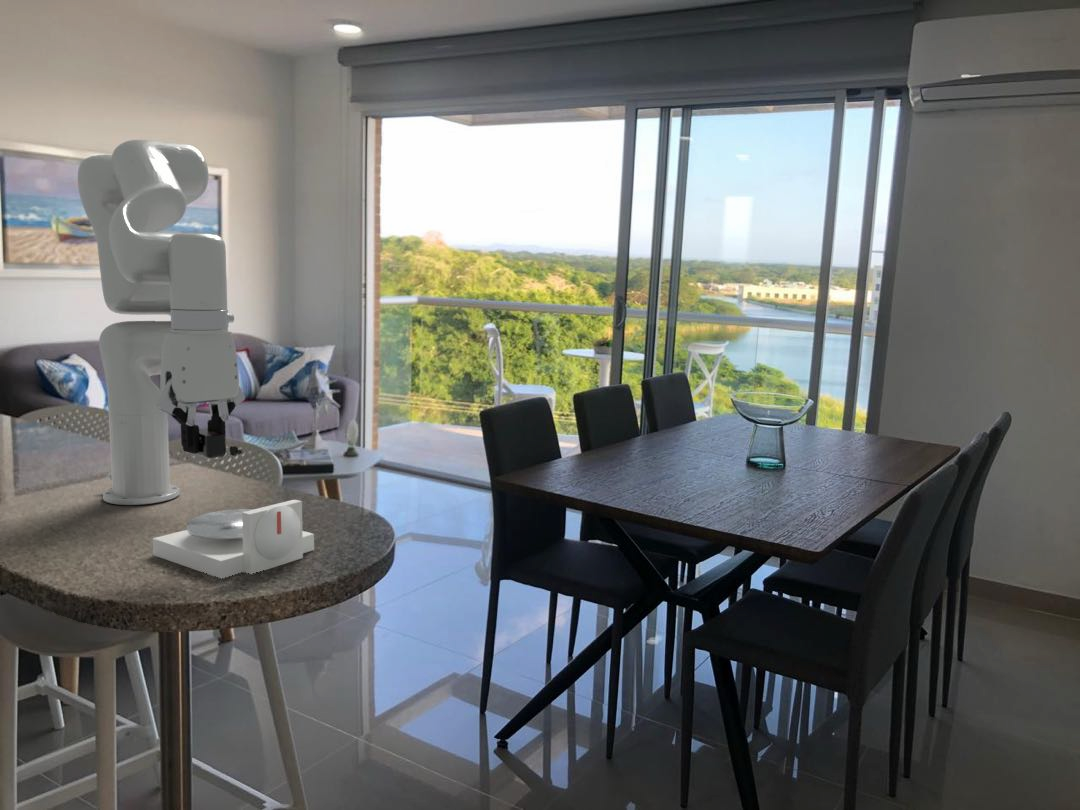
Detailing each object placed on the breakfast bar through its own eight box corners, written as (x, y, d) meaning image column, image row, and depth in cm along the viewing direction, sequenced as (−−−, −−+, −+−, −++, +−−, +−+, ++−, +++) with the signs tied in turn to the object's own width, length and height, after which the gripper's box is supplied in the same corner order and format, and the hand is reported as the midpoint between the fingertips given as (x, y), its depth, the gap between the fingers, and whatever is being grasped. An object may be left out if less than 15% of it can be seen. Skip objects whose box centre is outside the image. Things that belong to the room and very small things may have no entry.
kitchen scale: (153, 555, 127) (150, 496, 126) (246, 530, 140) (244, 476, 139) (231, 582, 117) (230, 518, 115) (324, 552, 130) (323, 495, 128)
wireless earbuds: (210, 460, 121) (210, 437, 121) (190, 452, 127) (189, 430, 126) (242, 456, 125) (242, 434, 124) (221, 448, 130) (221, 427, 129)
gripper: (234, 319, 132) (238, 439, 135) (129, 322, 119) (135, 455, 122) (265, 322, 128) (268, 445, 131) (159, 325, 115) (165, 462, 118)
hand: (204, 448), depth 126 cm, fingers closed on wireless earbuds, 3 cm apart
